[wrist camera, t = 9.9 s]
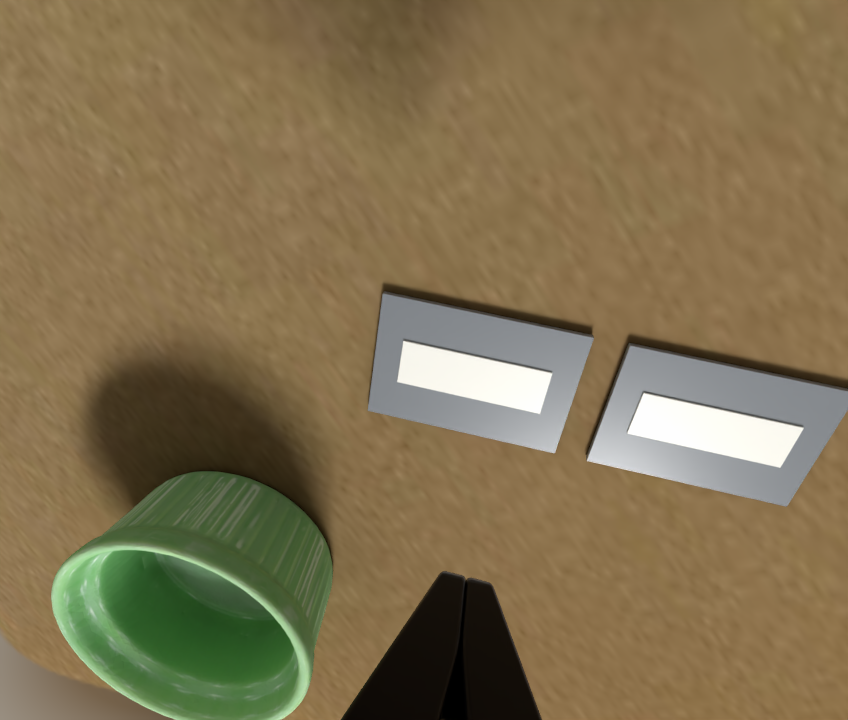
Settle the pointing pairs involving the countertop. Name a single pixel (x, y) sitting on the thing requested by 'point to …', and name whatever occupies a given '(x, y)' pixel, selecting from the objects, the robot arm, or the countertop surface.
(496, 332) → the label tile
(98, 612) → the ramekin
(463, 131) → the countertop surface
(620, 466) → the label tile
